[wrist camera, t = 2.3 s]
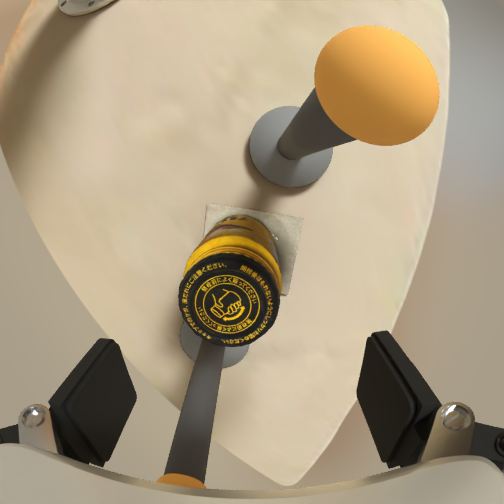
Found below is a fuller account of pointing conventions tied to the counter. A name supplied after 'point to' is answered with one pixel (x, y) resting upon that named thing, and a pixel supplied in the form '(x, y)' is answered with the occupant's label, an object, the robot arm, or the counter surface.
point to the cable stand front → (349, 105)
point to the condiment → (238, 274)
